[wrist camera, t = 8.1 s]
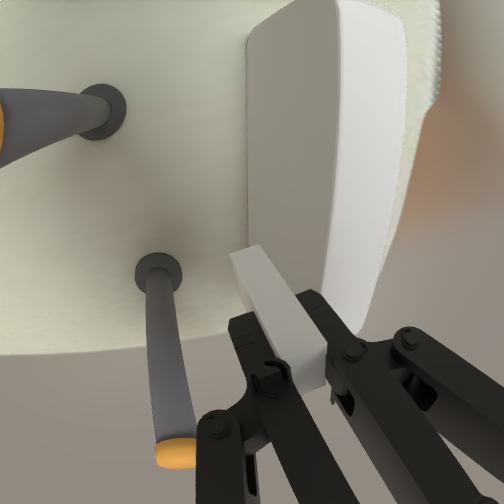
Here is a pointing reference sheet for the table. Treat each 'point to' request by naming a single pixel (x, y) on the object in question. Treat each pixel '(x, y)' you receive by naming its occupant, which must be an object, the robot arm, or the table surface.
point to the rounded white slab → (326, 145)
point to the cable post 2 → (167, 363)
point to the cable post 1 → (55, 117)
